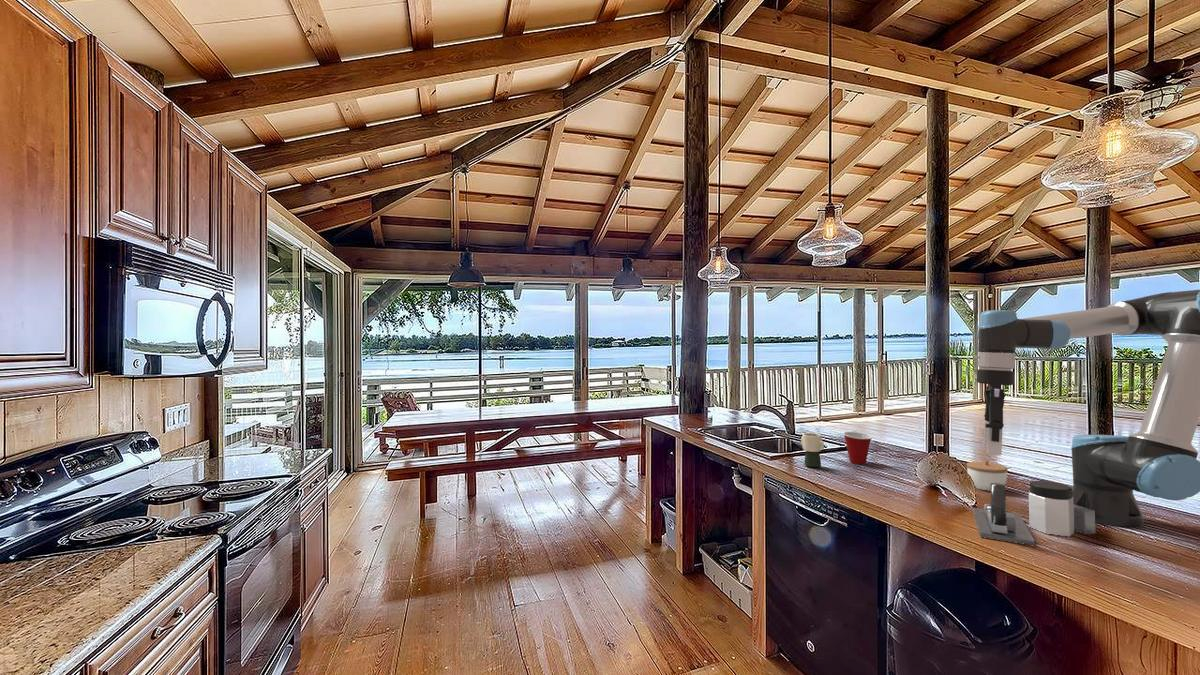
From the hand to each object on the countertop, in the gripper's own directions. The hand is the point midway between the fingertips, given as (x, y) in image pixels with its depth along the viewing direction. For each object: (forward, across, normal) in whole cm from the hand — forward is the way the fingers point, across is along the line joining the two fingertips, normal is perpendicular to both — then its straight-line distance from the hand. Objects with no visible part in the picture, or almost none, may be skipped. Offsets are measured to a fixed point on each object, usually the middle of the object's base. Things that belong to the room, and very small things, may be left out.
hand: (992, 450), depth 124 cm
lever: (+20, -6, +3) cm, 21 cm away
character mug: (+24, -45, -53) cm, 74 cm away
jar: (+21, -11, +14) cm, 27 cm away
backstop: (+20, -16, +18) cm, 32 cm away
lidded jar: (+20, -46, +2) cm, 51 cm away
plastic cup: (+22, -61, -38) cm, 75 cm away
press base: (+22, -7, +3) cm, 23 cm away
